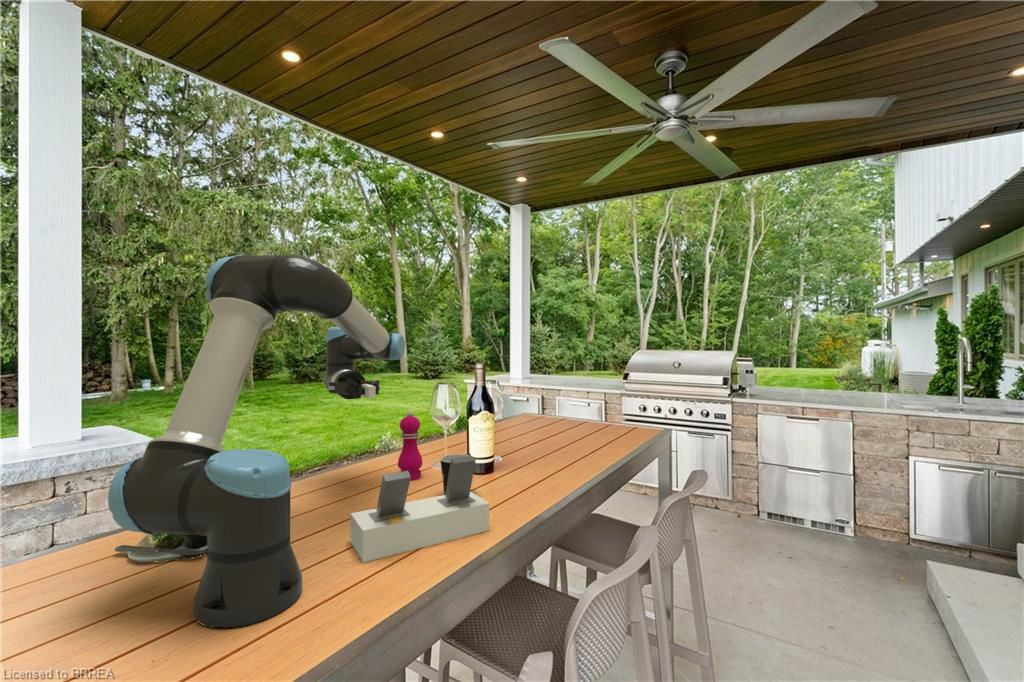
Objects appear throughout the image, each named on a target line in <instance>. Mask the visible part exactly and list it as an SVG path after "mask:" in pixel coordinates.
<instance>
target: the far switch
mask: <svg viewBox="0 0 1024 682" xmlns="http://www.w3.org/2000/svg"><path fill="white" fill-rule="evenodd" d="M475 467H476V459H475V458H474V456H473V455H469V456H467V457H461V458H454V459H451V463H450V469H449V475H448V481H447V487H446V494H445V498H446V499H447V501H448V502H450V501H455V500H460V499H465V498H469V495H470V491H471V488H472V483H473V477H474V472H475Z"/></svg>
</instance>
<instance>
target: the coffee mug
mask: <svg viewBox="0 0 1024 682" xmlns="http://www.w3.org/2000/svg"><path fill="white" fill-rule="evenodd" d="M467 456H470V455H469V454H461V453H460V454H459V453H455V454H454V453H453V454H447V455H444V456H442V457H441V458H440V466H441V467H440V468H441V476H442V483H443V485H442V486H443V493H444V495H445V494H446V487H447V481H448V475H449V469H450V463H451V459H454V458H461V457H467Z"/></svg>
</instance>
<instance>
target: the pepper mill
mask: <svg viewBox="0 0 1024 682" xmlns="http://www.w3.org/2000/svg"><path fill="white" fill-rule="evenodd" d="M413 415H414V412H413V411H411V410H409V411H407V413H406V416H404V417H403V418H402V419H401V420H400V422H399V429H400V430H401V431H402V432H401V438H402V441H403V442H402V449H401V451H400V454H399V456H398V460H397V466H398V468H399V470H400V471H399V472H403V471H408V472H409V474H410V476H411V479H410V480H411V481H416V480H415V479H417V480H419V479H421V477H422V471H421V470H420V468H422V467H423V458H422V455H421V453H420V451H419V446H418V438H419V430H420V428H421V421H420V419H419V418H418V417H417V416H413ZM418 478H419V479H418Z"/></svg>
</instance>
